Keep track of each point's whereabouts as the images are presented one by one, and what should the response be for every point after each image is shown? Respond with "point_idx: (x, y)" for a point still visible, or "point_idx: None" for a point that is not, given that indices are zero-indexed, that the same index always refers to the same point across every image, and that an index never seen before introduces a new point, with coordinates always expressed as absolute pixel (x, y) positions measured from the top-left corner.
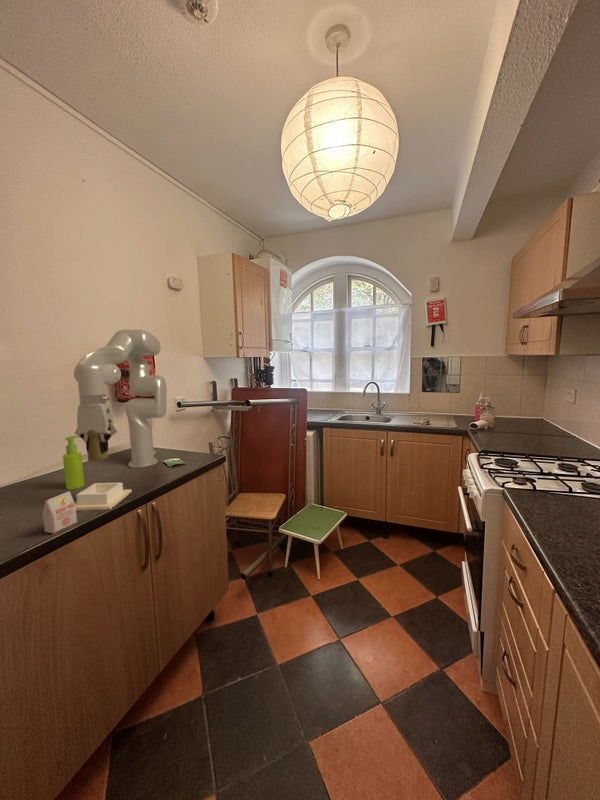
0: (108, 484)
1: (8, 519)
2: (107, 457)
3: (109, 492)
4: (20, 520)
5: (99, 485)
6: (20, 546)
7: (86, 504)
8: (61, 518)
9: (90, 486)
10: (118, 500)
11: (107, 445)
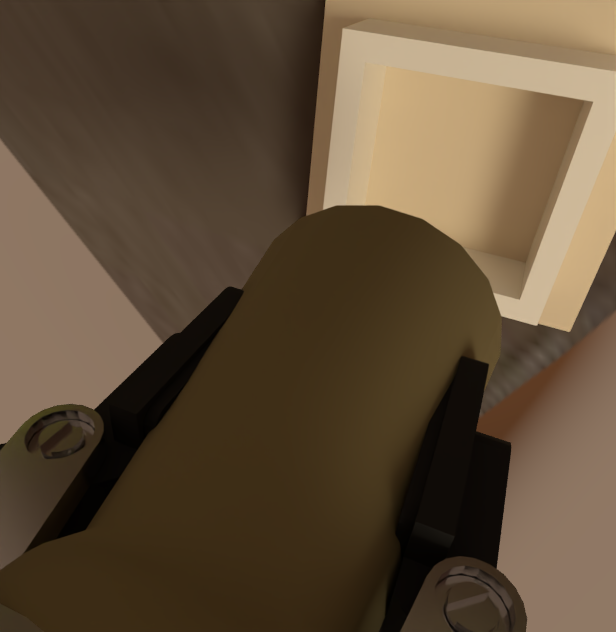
0: (488, 82)
1: (104, 262)
2: (499, 349)
3: (551, 289)
4: (160, 290)
5: (400, 64)
6: None
7: None
8: None
9: (340, 113)
10: (612, 234)
11: (497, 515)
